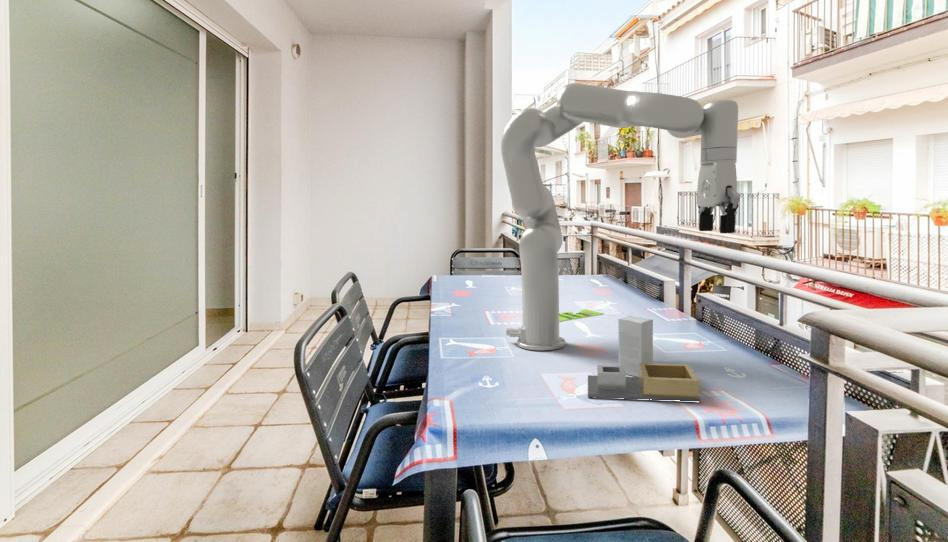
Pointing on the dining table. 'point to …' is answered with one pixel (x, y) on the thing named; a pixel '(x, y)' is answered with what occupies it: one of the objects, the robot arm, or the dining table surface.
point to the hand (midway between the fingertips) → (716, 231)
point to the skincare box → (635, 343)
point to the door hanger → (577, 315)
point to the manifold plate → (645, 383)
